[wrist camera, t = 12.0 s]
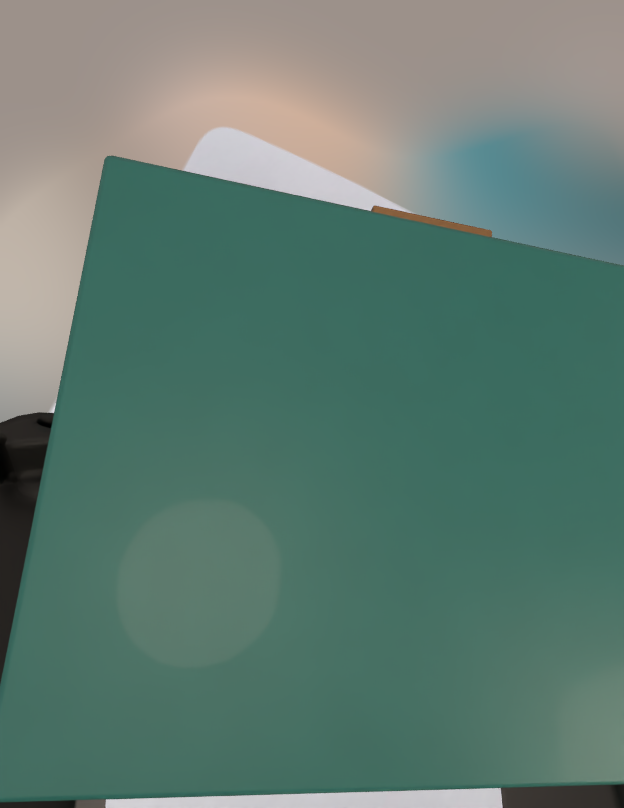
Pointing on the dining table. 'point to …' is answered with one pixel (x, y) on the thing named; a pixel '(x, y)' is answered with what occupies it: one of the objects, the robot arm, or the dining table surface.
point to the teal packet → (321, 509)
